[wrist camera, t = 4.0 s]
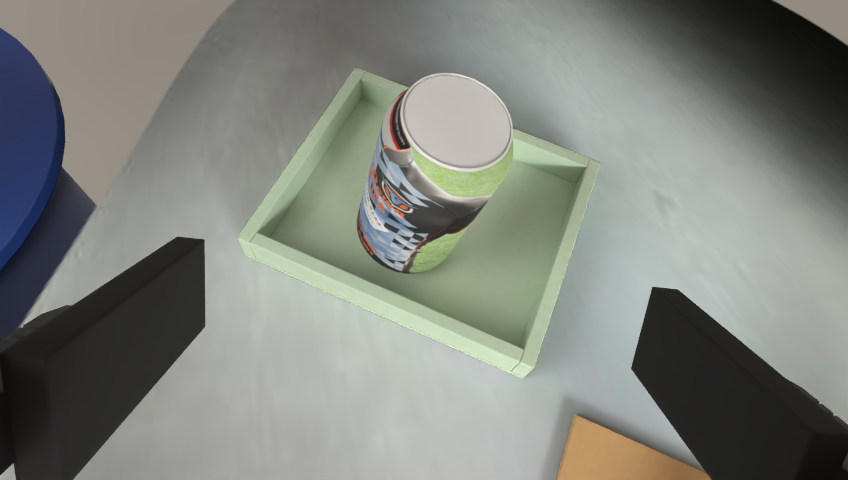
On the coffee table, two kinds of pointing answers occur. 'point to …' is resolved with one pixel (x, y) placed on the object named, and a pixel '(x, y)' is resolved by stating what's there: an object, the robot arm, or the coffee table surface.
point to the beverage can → (433, 170)
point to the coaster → (616, 457)
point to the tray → (465, 265)
